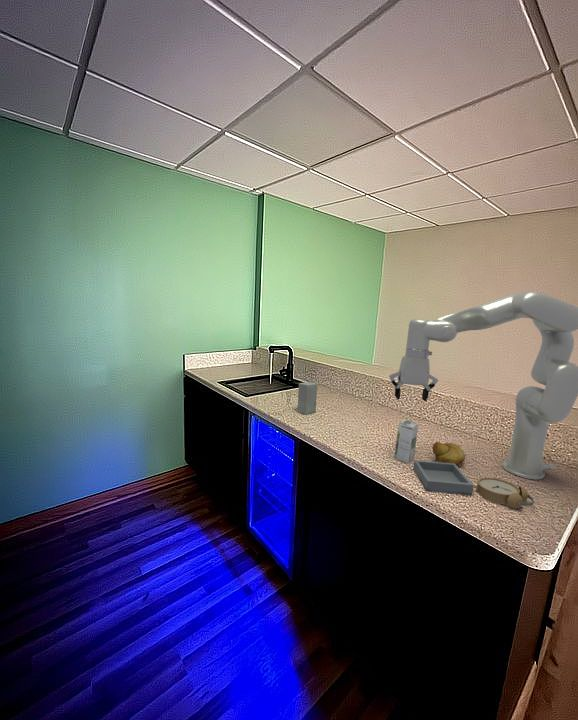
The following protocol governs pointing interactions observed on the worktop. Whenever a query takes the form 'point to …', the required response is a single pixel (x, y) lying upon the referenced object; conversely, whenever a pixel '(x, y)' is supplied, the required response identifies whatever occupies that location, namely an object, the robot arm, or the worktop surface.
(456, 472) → the tray
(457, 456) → the bread roll
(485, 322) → the robot arm
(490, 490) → the alarm clock
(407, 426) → the syrup box
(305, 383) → the skincare box
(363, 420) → the worktop surface
